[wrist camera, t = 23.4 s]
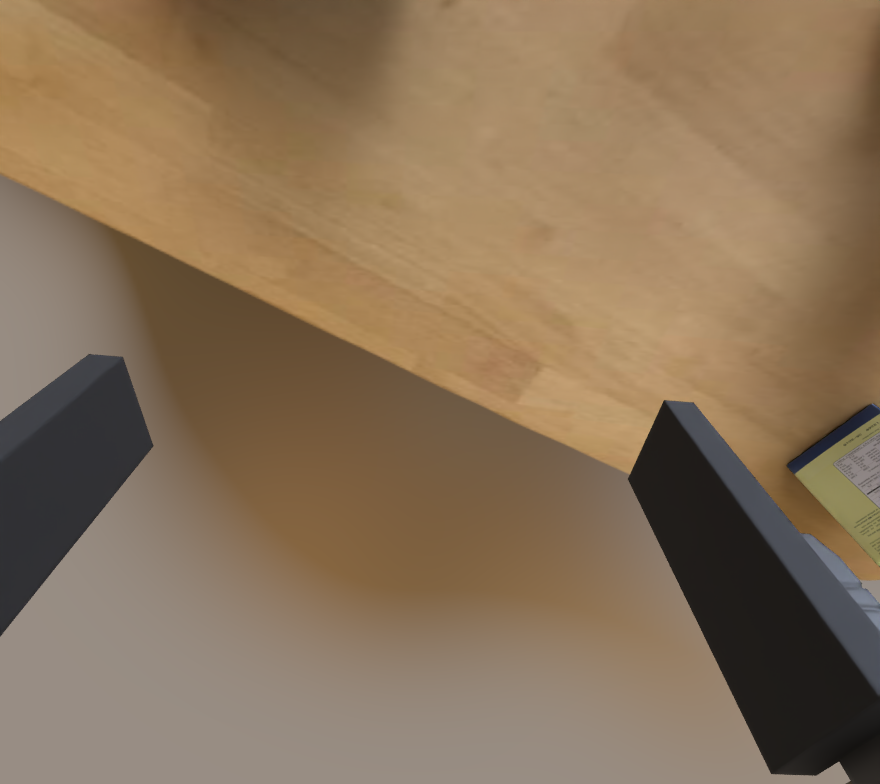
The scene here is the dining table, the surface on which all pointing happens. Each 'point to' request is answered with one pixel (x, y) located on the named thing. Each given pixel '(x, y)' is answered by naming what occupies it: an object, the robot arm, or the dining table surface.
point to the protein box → (848, 477)
